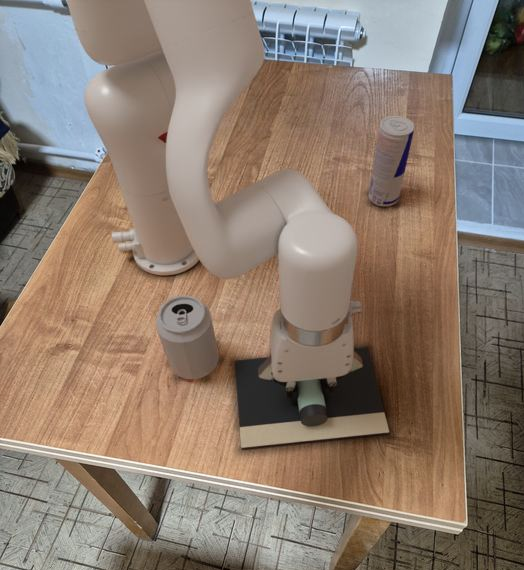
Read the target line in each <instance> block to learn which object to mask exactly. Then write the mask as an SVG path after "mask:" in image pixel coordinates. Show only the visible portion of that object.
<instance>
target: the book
mask: <svg viewBox="0 0 524 570" xmlns="http://www.w3.org/2000/svg"><path fill="white" fill-rule="evenodd" d="M354 351H355V352H356V353H357V354H358V355H359V356H360V357H361V359H362V363H363V367H362V368H359V369H357V370H354V371H352V372H349V373H348V374H347V375H346V376H344V377H342V378H341V379H339V380H337V385H335V386H333V391H332V393H329V396H328V402H325V406H326V411H327V417H328V420H327V421H326V422H325V423H323V424H321V425H318V426H305V425H303V424H302V423H301V419H300V412H299V406H298V404H296V405H293V404H292V397H287V394H286V390H285V386H282V385H280V384H277V383H275V382H274V381H273V380H266V379H261V378H259V374H258V368H259V367H260V366H261V365H262V364H263V363H264V361H265V360H266V359H267V358H268V357H269V356H267V357H258V358H257V357H256V358H247V359H238V360H236V359H235V360H234V372H235V382H236V383H235V384H236V396H237V408H238V409H237V411H238V423H239V436H240V437H239V438H240V439H239V440H240V448H241V450H250V449H260V448H269V447H278V446H279V447H281V446H287V445H298V444H307V443H316V442H327V441H336V440H345V439H355V438H365V437H375V436H382V435H384V436H385V435H389V434H390V429H389V426H388V421H387V417H386V414H385V412H384V407H383V402H382V399H381V395H380V391H379V387H378V384H377V383H378V382H377V379H376V375H375V370H374V368H373V364H372V360H371V356H370V351H369V348H368V346H365V347H356V348H354Z"/></svg>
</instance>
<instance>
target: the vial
mask: <svg viewBox="0 0 524 570" xmlns="http://www.w3.org/2000/svg"><path fill="white" fill-rule="evenodd" d="M297 387H298V406H299V412H300V419H301V423H302V424H303V425H305V426H318V425H321V424H323V423H325V422H326V421H327V420H328V417H327V411H326V406H325V400H324V395H323V390H322V385H321V379H314V380H304V381H297Z"/></svg>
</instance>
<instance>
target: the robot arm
mask: <svg viewBox="0 0 524 570" xmlns="http://www.w3.org/2000/svg"><path fill="white" fill-rule="evenodd" d="M66 4H67V7H68V11H69V15H70V17H71V21H72V23H73V26H74V29H75V32H76V35H77V37H78V40H79V42H80V45H81V47H82V48H83V51H84V52H85V53H86V55H87V56H88V57H89V58H90V59H91V60H92V61H94V62H95V63H97V64H99V65H102V66H107V67H108V68H105V69H103V70H102V71H100V72H99V73H97V74H95V76H93V77H92V78H91V79H90V80H89V82H88V83H87V84H86V86H85V88H84V93H83V102H84V106H85V109H86V112H87V114H88V117H89V119H90V121H91V123H92V125H93V127H94V129H95V130H96V132H97V134H98V136H99V138H100V140H101V142H102V144H103V147H104V148H105V150H106V152H107V155H108V157H109V160H110V162H111V165H112V168H113V171H114V173H115V177H116V179H117V182H118V185H119V187H120V191H121V194H122V198H123V200H124V204H125V207H126V210H127V212H128V215H129V218H130V221H131V224H132V227H133V228H130V229H129V230H128V231H127V230H126V231H123V230H121V231H112V232H111V240H112V243H113V244H117V249H118V251H119V252H127V251H132V256H133V259H134V261H135V263H136V265H137V266H138V267H139V268H140V269H141V270H143V271H144V272H147V273H149V274H151V275H156V276H174V275H177V274H181V273H183V272H186V271H188V270H190V269H191V268H193V267H194V266H195V265H196V264H198V263H199V261H200V263H201V264H202V266H203V267H204V269H206V271H208V272H209V273H210V274H211V275H213V276H215V277H216V278H219V279H223V280H232V279H236V278H239V277H241V276H243V275H246V274H247V273H249V272H250V271H252V270H254V269H256V268H257V267H260V266H262V265H263V264H264V263H266V262H267V261H269V260H271V259H273V258H275V257H276V256H278V291H279V309H277V310H276V311H275V313H274V314H273V318H272V320H271V325H270V331H269V351H268V352H269V356H267V357H268V358H267V359H266V360H265V361H264V363H263V364H262V365H261V366H260V367H259V368H258V374H259V378H261V379H266V380H273V381H274V382H275V383H277V384H280V385H282V386H285V390H286V394H287V397H292V404H293V405H296V404H298V387H297V381H304V380H314V379H321V385H322V390H323V395H324V400H325V402H328V396H329V393H332V391H333V386H335V385H337V380H339V379H341V378H342V377H344V376H346V375H347V374H348V373H349V372H352V371H354V370H357V369H359V368H362V367H363V363H362V359H361V357H360V356H359V355H358V354H357V353H356V352H355V351H354V347H355V344H354V343H355V338H354V325H353V318H352V316H353V315H356V314H360V313H362V303H361V301H360V300H356V301H354V300H351V297H352V291H353V283H354V278H355V277H354V276H355V271H356V264H357V258H358V250H359V249H358V247H359V243H358V242H359V241H358V237H357V234H356V230H355V229H354V227H353V226H352V225H351V224H350V223H349V222H348V221H347V220H346V219H344V218H343V217H342V216H340V215H338V214H336V213H333V211H332V210H331V209H330V208H329V206H328V205H327V203H326V202H325V200H324V199H323V198H322V196H321V195H320V193H319V192H318V191H317V189H316V187H315V185H314V183H312V181H311V180H310V179H308V177H307V176H305V175H304V174H303V173H302V172H301V171H299V170H297V169H294V168H282V169H280V170H277V171H274V172H272V173H271V174H269V175H267V176H265V177H263V178H261V179H259V180H258V181H256V182H254V183H252V184H249V185H247V186H245V187H243V188H242V189H240V190H238V191H235V192H234V193H232V194H230V195H228V196H226V197H225V198H222V199H221V200H219V201H216V202H215V201H214V197H213V196H212V192H211V188H210V182H209V174H208V173H209V159H210V155H211V154H210V153H211V149H212V146H213V144H214V143H213V142H214V139H215V137H216V135H217V132H218V131H219V130H218V129H219V127H220V126H221V124H222V122H223V121H224V119H225V117H226V115H227V114H228V113H229V111H230V110H231V108H232V107H233V105H234V103H236V101H237V99H238V98H239V96H240V95H242V93H243V91H244V90H245V89H246V88H247V87H248V85H250V83H251V82H252V81H253V79H254V78H255V77H256V76H257V74H258V73H259V71H260V70H261V68H262V66H263V65H264V62H265V56H266V51H265V50H266V49H265V46H264V42H263V39H262V35H261V33H260V30H259V26H258V25H259V24H258V23H257V18H256V15H255V12H254V8H253V4H252V1H251V0H66ZM166 132H168V133H167V136H166V139H165V140H166V141H164V142H163V141H162V140H160V139H158V137H159V136H161V135H162V134H164V133H166Z"/></svg>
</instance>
